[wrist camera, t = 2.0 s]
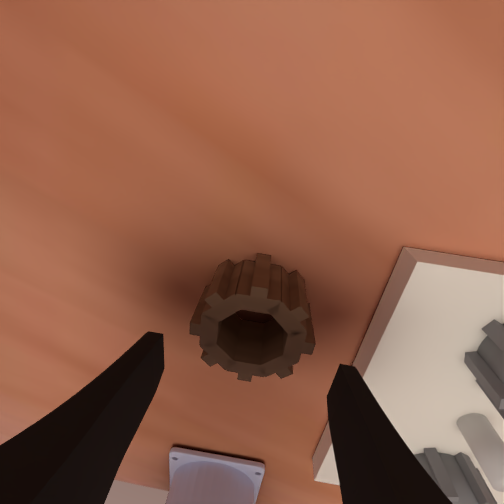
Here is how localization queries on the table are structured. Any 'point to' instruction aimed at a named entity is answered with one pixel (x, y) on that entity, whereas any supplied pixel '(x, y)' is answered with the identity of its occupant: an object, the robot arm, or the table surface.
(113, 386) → the robot arm
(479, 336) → the gear board
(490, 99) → the table surface
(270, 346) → the walnut gear
